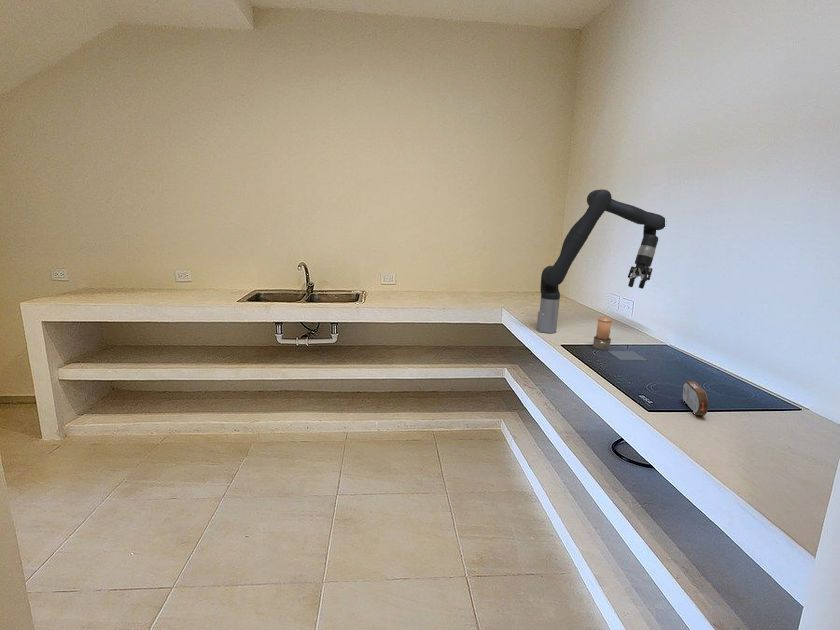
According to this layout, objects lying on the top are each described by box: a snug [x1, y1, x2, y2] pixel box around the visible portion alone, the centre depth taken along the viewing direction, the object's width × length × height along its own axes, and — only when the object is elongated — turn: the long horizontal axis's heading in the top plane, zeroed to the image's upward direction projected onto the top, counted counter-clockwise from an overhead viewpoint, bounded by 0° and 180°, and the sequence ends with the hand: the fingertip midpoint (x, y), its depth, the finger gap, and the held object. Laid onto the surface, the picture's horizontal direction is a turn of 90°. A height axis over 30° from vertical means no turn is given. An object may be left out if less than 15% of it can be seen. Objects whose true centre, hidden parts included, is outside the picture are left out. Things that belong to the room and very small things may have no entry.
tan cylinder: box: [595, 316, 613, 340], centre depth 215 cm, size 6×6×10 cm
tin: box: [681, 380, 709, 417], centre depth 154 cm, size 15×3×8 cm, turn 170°
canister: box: [592, 335, 612, 352], centre depth 217 cm, size 7×7×5 cm
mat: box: [607, 350, 648, 362], centre depth 207 cm, size 12×12×1 cm
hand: (635, 287), depth 236 cm, fingers open, 8 cm apart
